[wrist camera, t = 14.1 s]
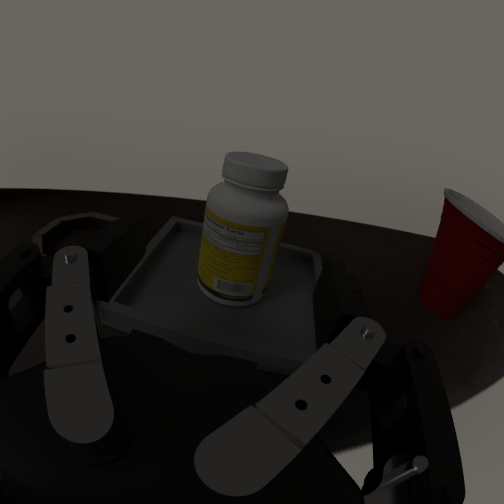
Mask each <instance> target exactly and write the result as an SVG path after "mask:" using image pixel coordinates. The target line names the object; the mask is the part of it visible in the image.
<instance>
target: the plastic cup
mask: <svg viewBox="0 0 504 504" xmlns="http://www.w3.org/2000/svg"><path fill="white" fill-rule="evenodd" d="M444 196H445V200H444V206H443V212H442V215H441V221H440V225H439V229H438V232H437V235H436V238H435V241H434V245H433V248H432V251H431V254H430V257H429V260H428V263H427V268H426V270H425V273H424V276H423V279H422V281H421V284H420V287H419V292H418V296H419V299H420V301H421V302H422V303H423V305H424V306H425V307H426V308H427V309H428V310H429V311H431V312H432V313H433V314H435V315H437V316H438V317H440V318H443V319H452V318H453V317H454V316H456V315H457V314H458V313H459V312H460V311H461V310H462V309H463V308H464V307H465V305H466V304H467V303H468V302H469V301H470V300H472V299H473V298H474V296H475V295H476V294H477V293H478V292H479V291H480V290H481V288H482V287H483V286H484V285H485V284H486V282H487V281H488V280H489V279H490V278H491V276H492V275H493V274H494V273H495V271H496V270H497V269H498V267H499V266H500V265H502V263H503V262H504V224H503V223H502V222H501V221H500V220H499V219H497V218H496V217H495V216H493V215H492V214H491V213H490V212H488V211H487V210H486V209H484V208H483V207H481V206H480V205H479V204H477V203H476V202H474V201H473V200H471V199H469V198H467V197H466V196H464V195H462V194H460V193H458V192H456V191H453V190H451V189H446V188H445V190H444Z"/></svg>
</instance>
